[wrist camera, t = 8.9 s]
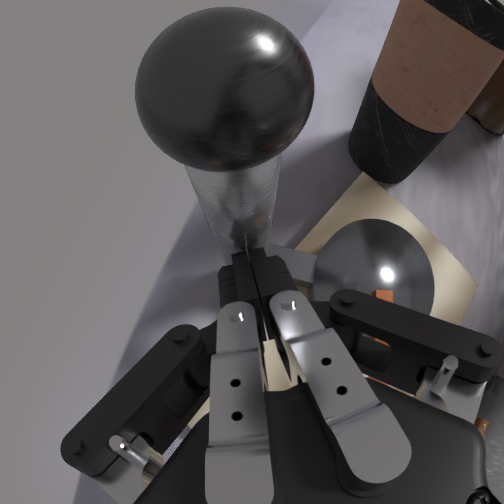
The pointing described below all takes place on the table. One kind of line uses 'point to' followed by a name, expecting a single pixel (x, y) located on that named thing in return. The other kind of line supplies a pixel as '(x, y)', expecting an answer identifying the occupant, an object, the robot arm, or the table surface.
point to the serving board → (493, 434)
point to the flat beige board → (388, 208)
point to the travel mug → (425, 82)
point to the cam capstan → (261, 150)
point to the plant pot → (491, 103)
